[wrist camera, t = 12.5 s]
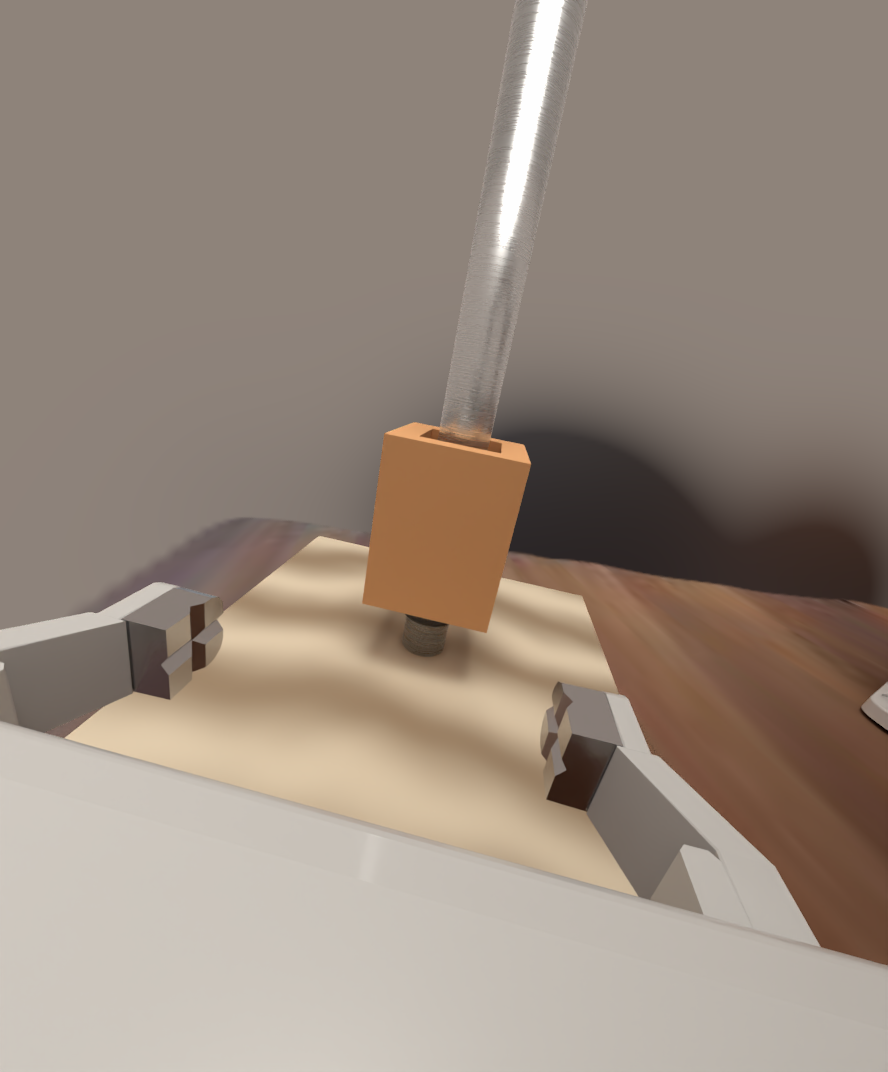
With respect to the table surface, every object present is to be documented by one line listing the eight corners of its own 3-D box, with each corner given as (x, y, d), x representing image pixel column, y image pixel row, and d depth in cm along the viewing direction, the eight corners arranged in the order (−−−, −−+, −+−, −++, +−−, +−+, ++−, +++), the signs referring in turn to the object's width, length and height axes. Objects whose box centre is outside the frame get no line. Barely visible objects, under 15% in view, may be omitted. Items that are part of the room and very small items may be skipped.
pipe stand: (692, 968, 13) (712, 940, 12) (49, 786, 14) (42, 755, 14) (576, 612, 33) (581, 596, 33) (317, 552, 35) (319, 535, 34)
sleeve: (486, 633, 19) (531, 464, 16) (362, 603, 19) (384, 433, 17) (490, 577, 25) (524, 444, 22) (393, 555, 25) (414, 422, 22)
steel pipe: (444, 665, 22) (604, -40, 12) (391, 652, 22) (510, -53, 13) (451, 634, 25) (586, 36, 15) (404, 623, 25) (509, 25, 15)
